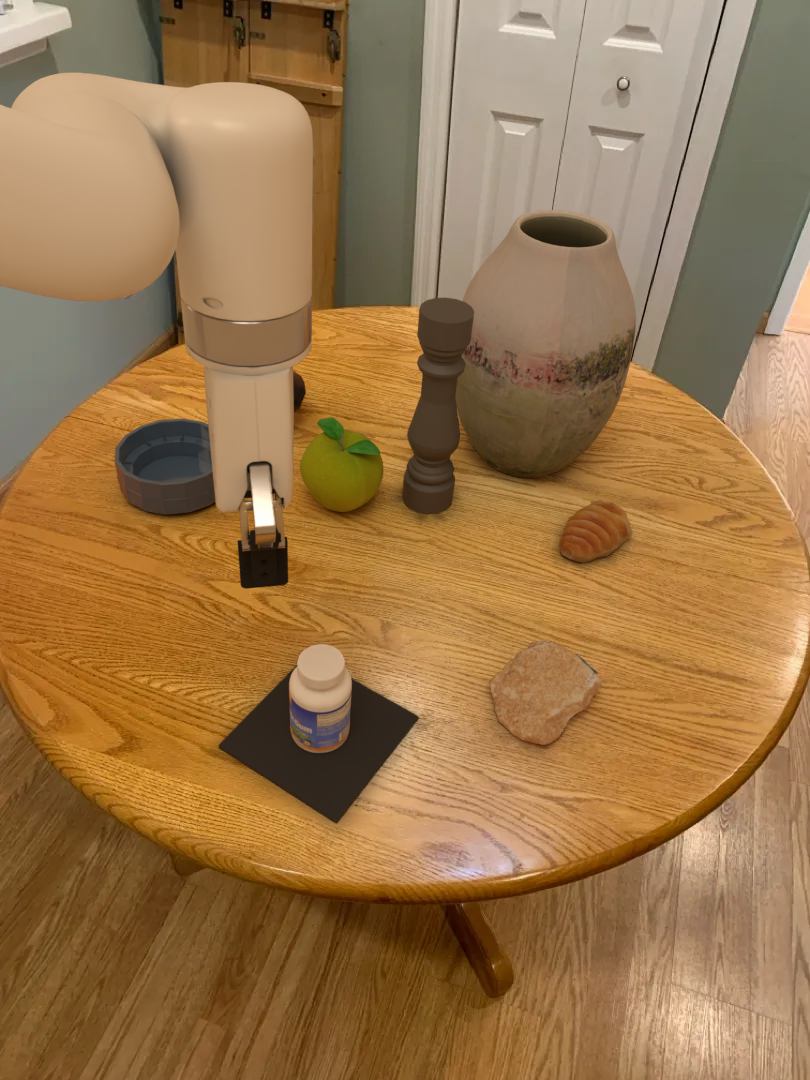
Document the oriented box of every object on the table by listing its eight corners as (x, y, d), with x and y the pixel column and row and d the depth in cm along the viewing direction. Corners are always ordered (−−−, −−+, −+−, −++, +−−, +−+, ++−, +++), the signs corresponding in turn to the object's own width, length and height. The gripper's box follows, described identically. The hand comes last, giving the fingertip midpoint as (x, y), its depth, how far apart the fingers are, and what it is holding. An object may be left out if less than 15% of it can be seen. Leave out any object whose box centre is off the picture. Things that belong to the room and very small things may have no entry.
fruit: (343, 469, 107) (345, 402, 100) (394, 505, 102) (399, 437, 96) (286, 499, 102) (283, 430, 95) (337, 538, 97) (338, 469, 90)
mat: (336, 824, 71) (336, 821, 70) (218, 748, 75) (218, 744, 75) (418, 719, 79) (418, 716, 79) (307, 656, 84) (307, 653, 84)
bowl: (178, 532, 96) (173, 499, 93) (98, 489, 101) (90, 456, 98) (253, 477, 105) (251, 444, 101) (175, 439, 109) (171, 407, 106)
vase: (591, 412, 120) (643, 199, 100) (614, 507, 104) (681, 277, 84) (442, 402, 120) (464, 186, 100) (442, 496, 104) (469, 262, 84)
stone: (606, 697, 82) (617, 667, 79) (537, 758, 77) (545, 728, 74) (541, 647, 87) (548, 617, 84) (470, 701, 81) (475, 670, 78)
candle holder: (427, 476, 107) (445, 291, 90) (462, 500, 104) (489, 312, 87) (391, 496, 103) (404, 307, 87) (427, 521, 100) (448, 330, 84)
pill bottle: (280, 719, 78) (276, 650, 71) (333, 697, 80) (334, 628, 73) (306, 765, 74) (304, 696, 68) (360, 740, 76) (364, 672, 70)
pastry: (592, 577, 95) (599, 552, 92) (542, 549, 98) (548, 524, 96) (633, 537, 100) (641, 512, 98) (585, 512, 104) (591, 487, 101)
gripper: (180, 260, 55) (201, 468, 67) (185, 404, 43) (210, 630, 54) (295, 258, 57) (296, 463, 68) (332, 397, 45) (326, 619, 56)
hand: (258, 537), depth 61 cm, fingers open, 9 cm apart
